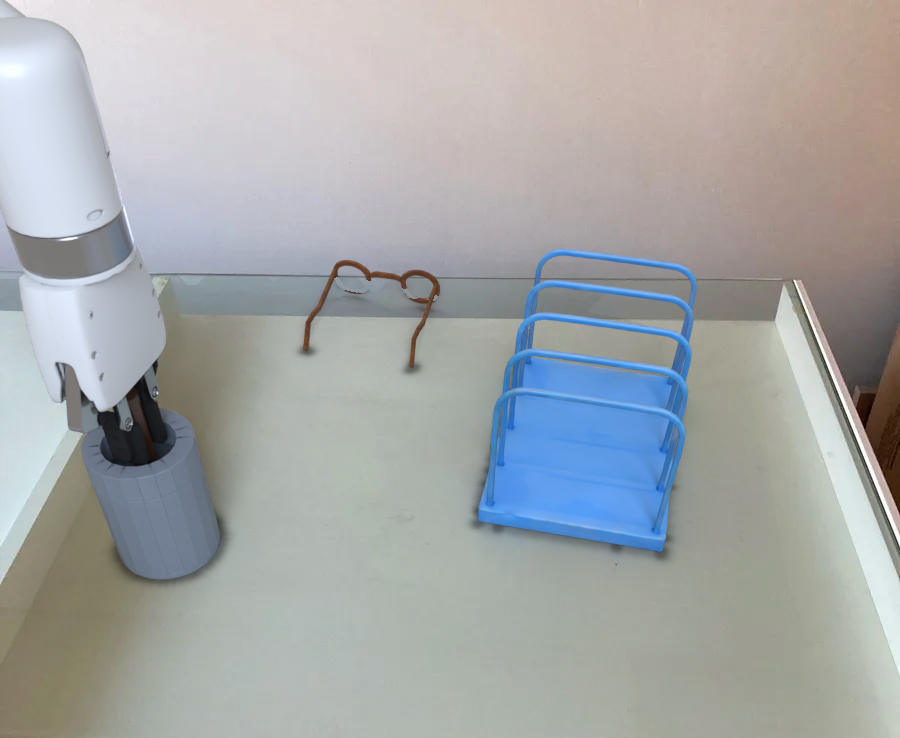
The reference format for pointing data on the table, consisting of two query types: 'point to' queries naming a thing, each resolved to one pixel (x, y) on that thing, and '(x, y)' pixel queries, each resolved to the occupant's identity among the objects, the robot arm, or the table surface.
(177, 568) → the pen holder
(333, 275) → the glasses
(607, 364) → the file sorter
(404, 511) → the table surface
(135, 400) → the brown and grey pestle
